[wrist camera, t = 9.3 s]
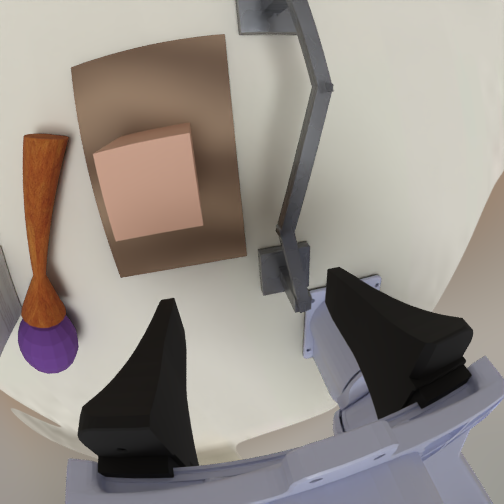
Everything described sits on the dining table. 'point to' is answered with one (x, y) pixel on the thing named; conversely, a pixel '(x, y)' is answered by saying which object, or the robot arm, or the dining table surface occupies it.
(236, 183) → the walnut board
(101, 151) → the block
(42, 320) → the kendama
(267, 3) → the grey door handle
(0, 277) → the supplement box
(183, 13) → the dining table surface
